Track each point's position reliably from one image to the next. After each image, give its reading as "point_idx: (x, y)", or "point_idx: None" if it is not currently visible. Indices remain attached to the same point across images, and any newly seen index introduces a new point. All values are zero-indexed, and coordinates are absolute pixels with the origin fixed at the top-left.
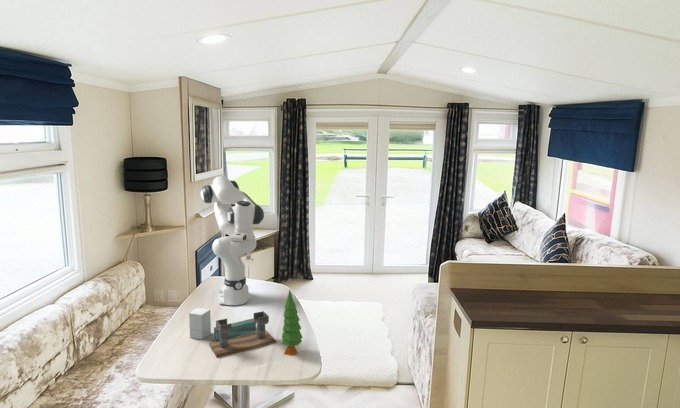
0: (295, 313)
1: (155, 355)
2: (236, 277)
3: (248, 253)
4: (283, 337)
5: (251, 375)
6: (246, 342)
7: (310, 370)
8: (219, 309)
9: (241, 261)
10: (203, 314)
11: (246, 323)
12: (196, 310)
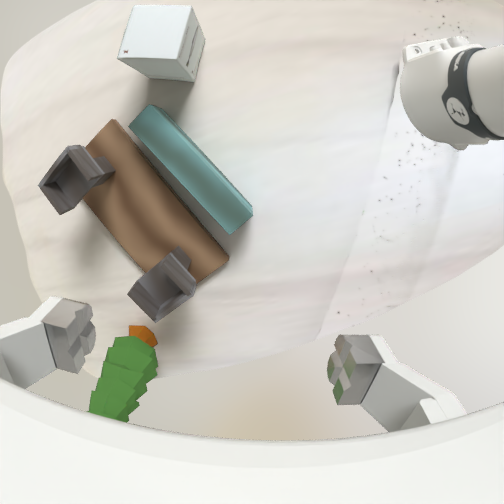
0: None
1: (64, 26)
2: (481, 100)
3: (404, 401)
4: (107, 352)
5: (39, 278)
6: (136, 226)
7: (96, 372)
8: (391, 52)
9: (62, 361)
10: (127, 59)
11: (203, 206)
12: (158, 15)
